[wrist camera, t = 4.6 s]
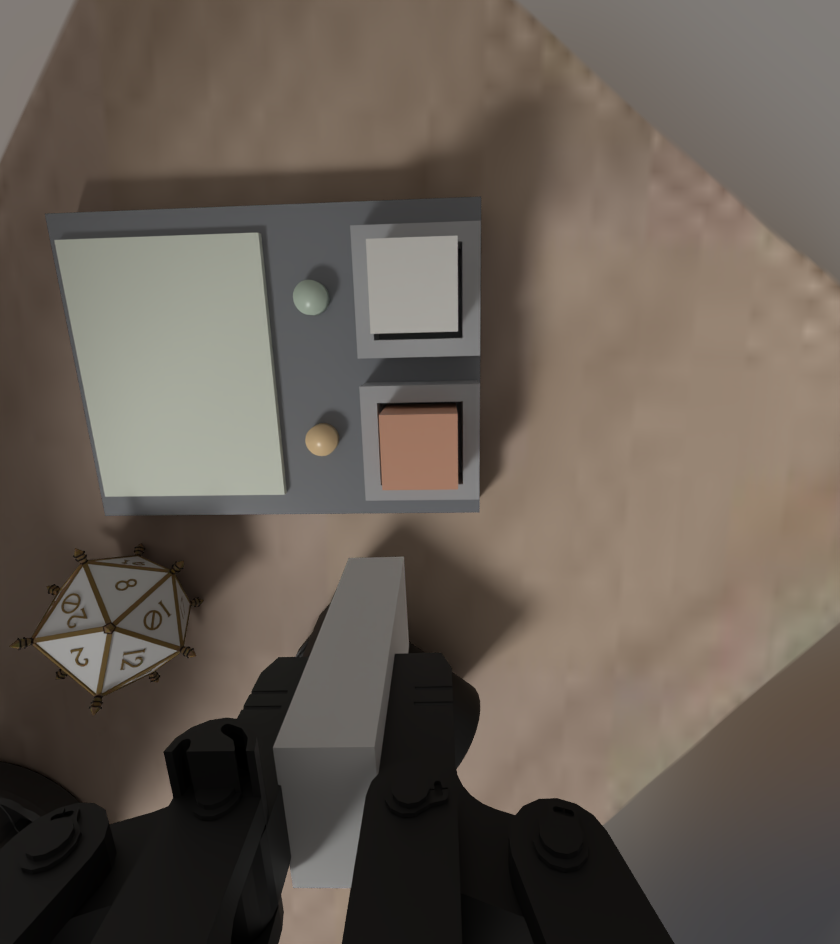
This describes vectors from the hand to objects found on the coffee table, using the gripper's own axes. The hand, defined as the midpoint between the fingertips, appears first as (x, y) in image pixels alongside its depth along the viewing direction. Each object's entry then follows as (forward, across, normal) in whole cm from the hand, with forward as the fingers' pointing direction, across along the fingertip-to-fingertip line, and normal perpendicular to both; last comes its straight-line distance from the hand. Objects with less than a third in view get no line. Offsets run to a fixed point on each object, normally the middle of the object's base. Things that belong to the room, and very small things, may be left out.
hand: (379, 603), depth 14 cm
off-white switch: (+12, -1, -9) cm, 15 cm away
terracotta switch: (+13, -1, -2) cm, 14 cm away
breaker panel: (+16, +7, -6) cm, 18 cm away
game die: (+16, +16, +8) cm, 24 cm away
